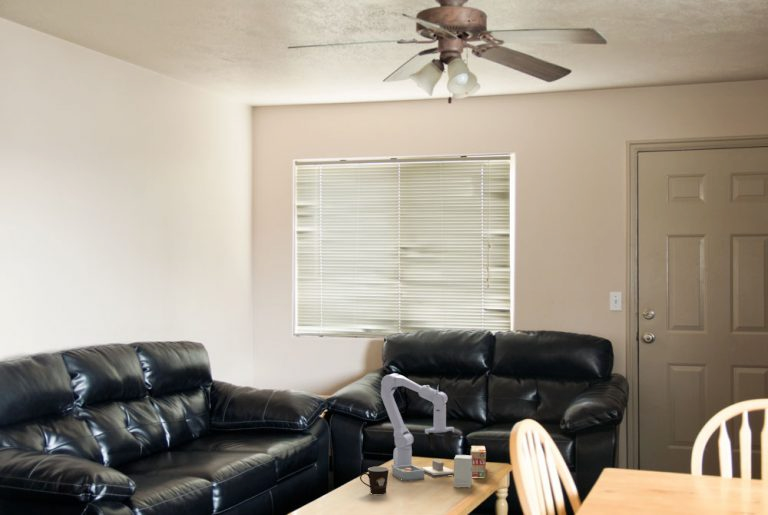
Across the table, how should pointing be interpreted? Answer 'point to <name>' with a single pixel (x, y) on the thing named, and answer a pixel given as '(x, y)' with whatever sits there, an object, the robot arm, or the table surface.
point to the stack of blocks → (478, 461)
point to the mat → (437, 475)
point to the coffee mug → (377, 479)
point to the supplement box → (462, 471)
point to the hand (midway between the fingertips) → (439, 448)
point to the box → (408, 472)
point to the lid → (437, 468)
